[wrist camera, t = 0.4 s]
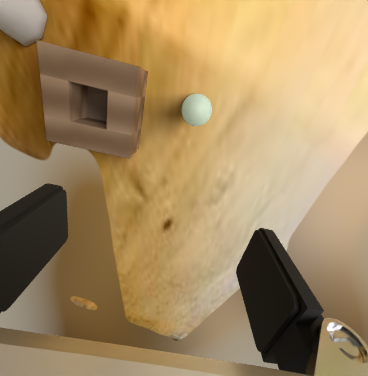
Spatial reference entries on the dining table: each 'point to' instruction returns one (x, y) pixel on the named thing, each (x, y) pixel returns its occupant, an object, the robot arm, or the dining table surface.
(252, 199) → the dining table surface
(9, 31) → the flask
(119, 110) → the socket block
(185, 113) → the peg
